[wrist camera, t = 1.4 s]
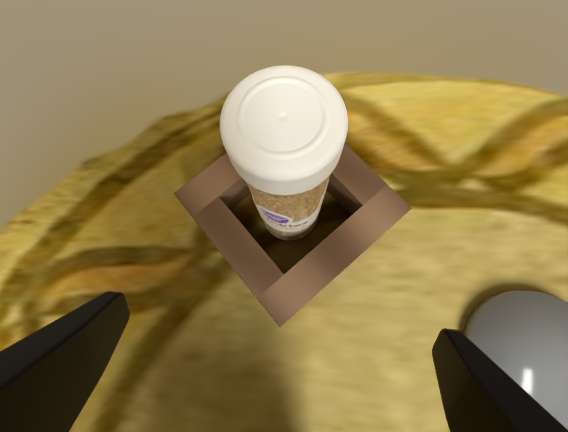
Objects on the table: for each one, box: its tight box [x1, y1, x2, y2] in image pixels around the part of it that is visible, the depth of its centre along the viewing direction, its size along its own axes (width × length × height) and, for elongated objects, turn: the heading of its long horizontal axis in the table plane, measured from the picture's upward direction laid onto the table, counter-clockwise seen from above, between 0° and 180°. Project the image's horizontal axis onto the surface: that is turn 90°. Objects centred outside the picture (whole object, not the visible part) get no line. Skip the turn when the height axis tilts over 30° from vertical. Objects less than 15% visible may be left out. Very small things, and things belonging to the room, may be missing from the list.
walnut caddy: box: [174, 143, 412, 327], centre depth 21 cm, size 12×12×4 cm
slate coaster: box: [464, 290, 568, 430], centre depth 19 cm, size 9×9×1 cm
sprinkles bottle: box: [220, 65, 348, 241], centre depth 16 cm, size 5×5×13 cm
